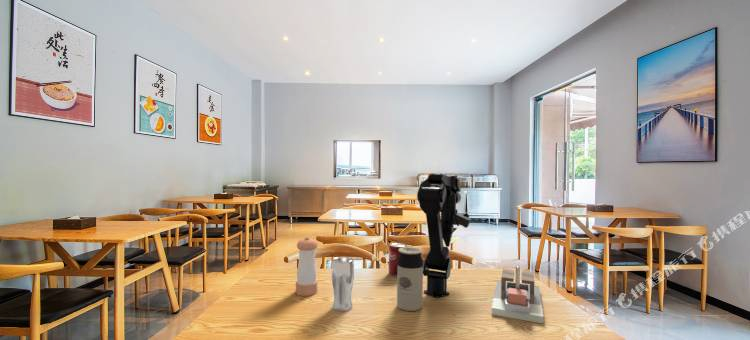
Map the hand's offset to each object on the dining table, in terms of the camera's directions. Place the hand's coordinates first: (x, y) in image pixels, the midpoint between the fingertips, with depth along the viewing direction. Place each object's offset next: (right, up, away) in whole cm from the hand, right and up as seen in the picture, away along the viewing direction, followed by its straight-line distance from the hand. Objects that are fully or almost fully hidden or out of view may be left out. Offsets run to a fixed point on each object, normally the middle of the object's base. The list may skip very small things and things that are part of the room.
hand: (447, 246), depth 133 cm
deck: (+18, -14, -21) cm, 31 cm away
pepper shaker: (-52, -13, -15) cm, 56 cm away
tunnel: (+18, -11, -21) cm, 30 cm away
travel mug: (-17, -13, -26) cm, 34 cm away
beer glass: (-39, -13, -27) cm, 49 cm away
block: (+14, -12, -31) cm, 36 cm away
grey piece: (+14, -11, -30) cm, 35 cm away
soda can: (-19, -13, +6) cm, 24 cm away
